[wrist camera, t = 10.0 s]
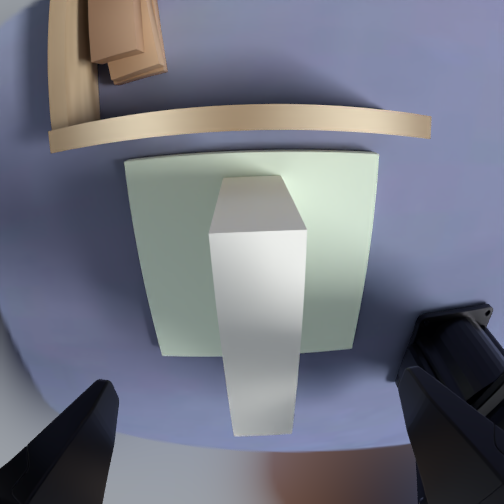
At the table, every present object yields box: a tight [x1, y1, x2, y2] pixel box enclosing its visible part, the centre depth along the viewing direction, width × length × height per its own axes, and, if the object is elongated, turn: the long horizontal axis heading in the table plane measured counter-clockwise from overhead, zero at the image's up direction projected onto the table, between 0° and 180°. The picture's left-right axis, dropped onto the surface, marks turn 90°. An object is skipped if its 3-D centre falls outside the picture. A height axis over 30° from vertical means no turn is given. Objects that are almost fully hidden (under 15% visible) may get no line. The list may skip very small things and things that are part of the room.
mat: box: [124, 150, 379, 357], centre depth 15 cm, size 11×11×1 cm
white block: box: [209, 176, 307, 436], centre depth 13 cm, size 2×9×6 cm, turn 2°
